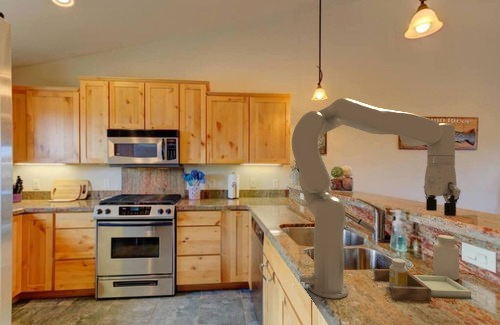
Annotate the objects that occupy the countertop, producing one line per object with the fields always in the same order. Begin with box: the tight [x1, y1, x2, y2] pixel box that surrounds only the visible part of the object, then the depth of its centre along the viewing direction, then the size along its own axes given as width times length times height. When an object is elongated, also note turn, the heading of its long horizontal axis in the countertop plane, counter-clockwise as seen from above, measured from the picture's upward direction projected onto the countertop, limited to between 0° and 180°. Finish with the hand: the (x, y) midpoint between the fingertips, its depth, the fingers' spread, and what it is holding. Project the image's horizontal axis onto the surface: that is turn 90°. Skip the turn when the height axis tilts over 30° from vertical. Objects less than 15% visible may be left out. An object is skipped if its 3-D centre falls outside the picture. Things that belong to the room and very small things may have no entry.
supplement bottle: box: [388, 257, 408, 290], centre depth 92 cm, size 5×5×10 cm
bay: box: [373, 268, 432, 301], centre depth 92 cm, size 11×15×4 cm
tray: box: [412, 274, 472, 299], centre depth 92 cm, size 12×12×2 cm
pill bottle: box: [432, 234, 460, 281], centre depth 103 cm, size 8×8×15 cm
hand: (440, 213), depth 90 cm, fingers open, 9 cm apart
